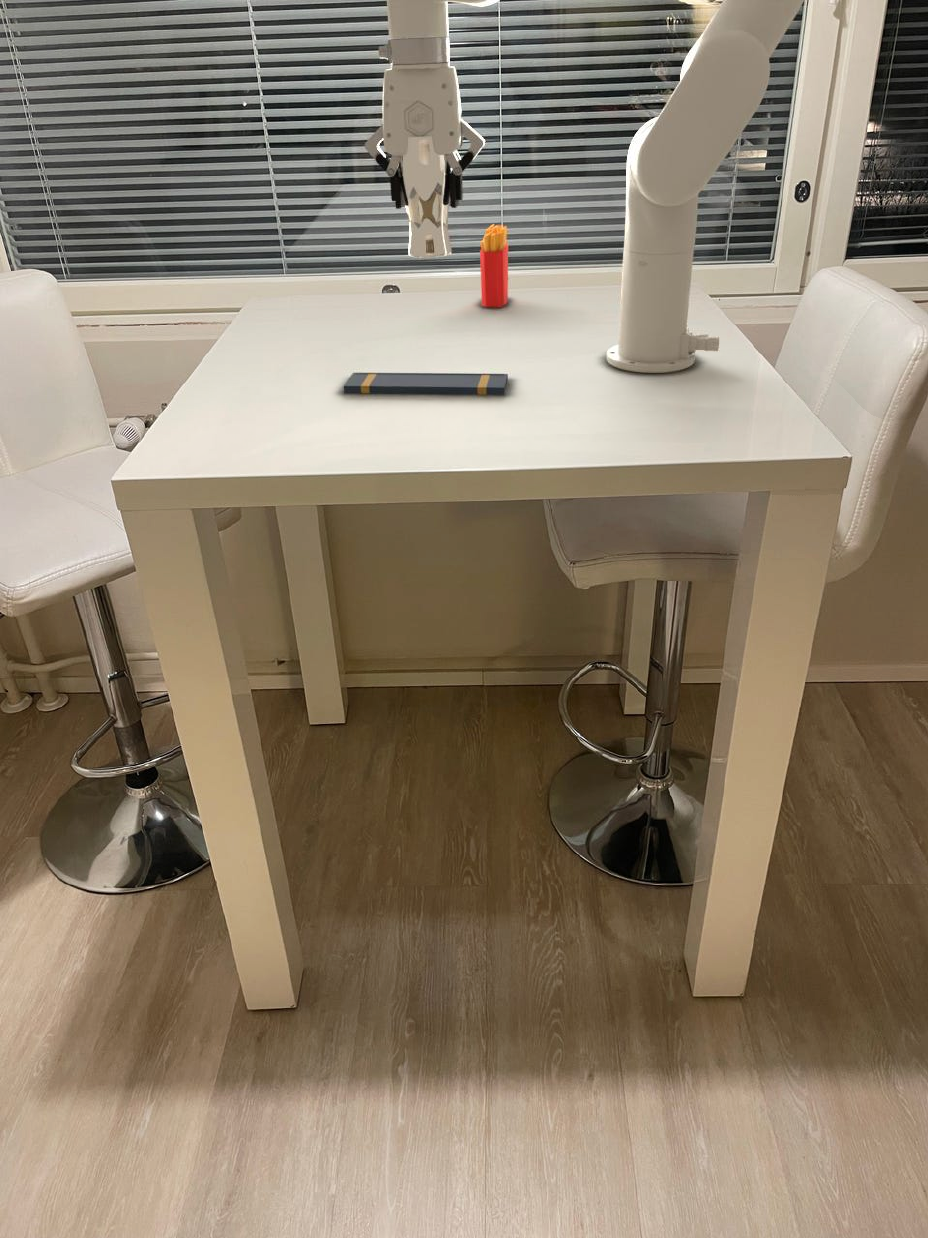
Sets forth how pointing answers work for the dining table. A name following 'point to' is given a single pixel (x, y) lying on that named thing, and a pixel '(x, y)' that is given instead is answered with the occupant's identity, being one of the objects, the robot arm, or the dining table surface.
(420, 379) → the blue striped flat box
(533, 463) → the dining table surface
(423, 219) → the beer glass
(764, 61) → the robot arm
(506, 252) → the french fries
